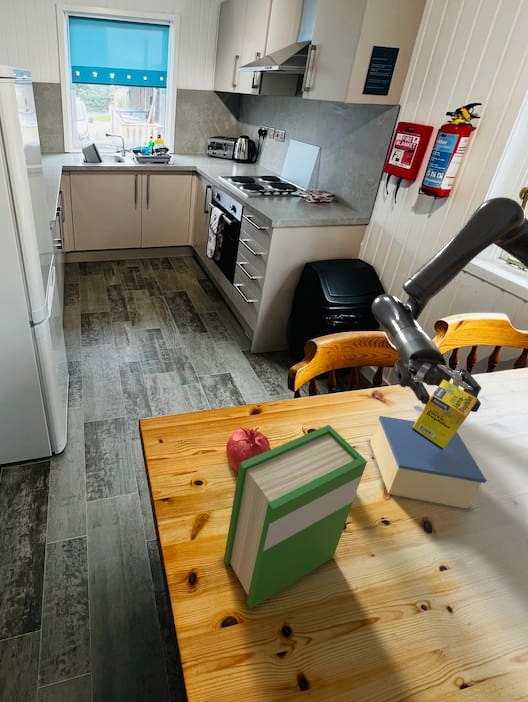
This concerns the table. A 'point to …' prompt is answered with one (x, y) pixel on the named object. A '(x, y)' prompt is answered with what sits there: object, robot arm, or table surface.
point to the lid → (429, 452)
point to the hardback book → (291, 510)
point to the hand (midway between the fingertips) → (451, 404)
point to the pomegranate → (245, 446)
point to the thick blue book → (419, 478)
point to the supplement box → (444, 414)
